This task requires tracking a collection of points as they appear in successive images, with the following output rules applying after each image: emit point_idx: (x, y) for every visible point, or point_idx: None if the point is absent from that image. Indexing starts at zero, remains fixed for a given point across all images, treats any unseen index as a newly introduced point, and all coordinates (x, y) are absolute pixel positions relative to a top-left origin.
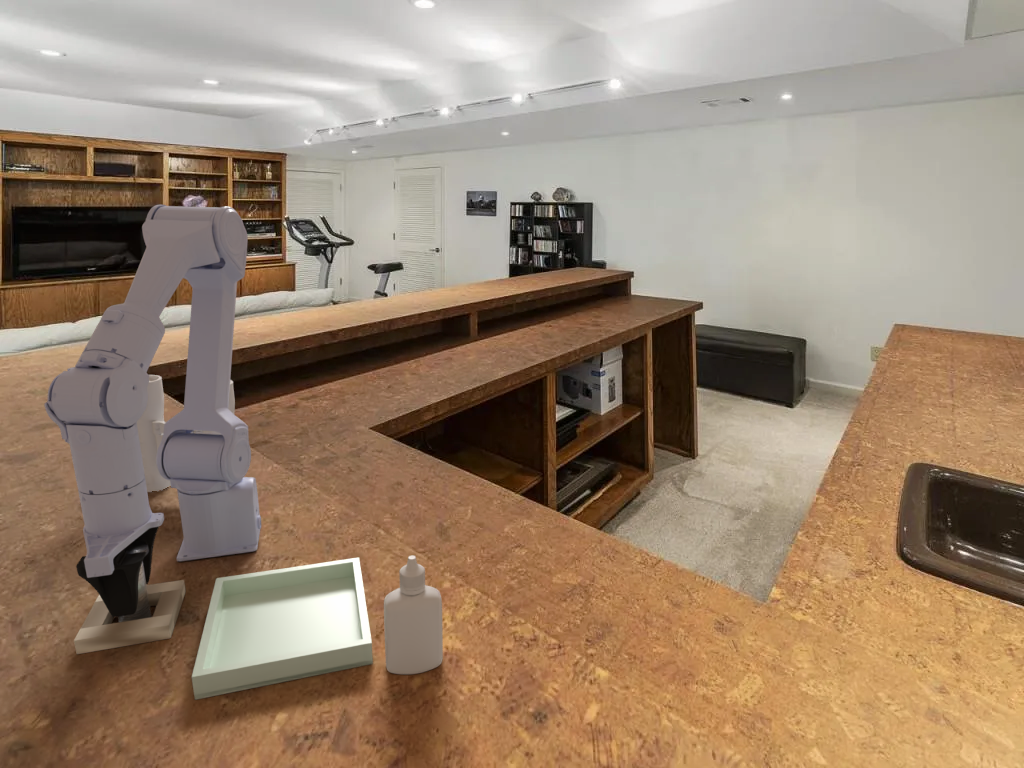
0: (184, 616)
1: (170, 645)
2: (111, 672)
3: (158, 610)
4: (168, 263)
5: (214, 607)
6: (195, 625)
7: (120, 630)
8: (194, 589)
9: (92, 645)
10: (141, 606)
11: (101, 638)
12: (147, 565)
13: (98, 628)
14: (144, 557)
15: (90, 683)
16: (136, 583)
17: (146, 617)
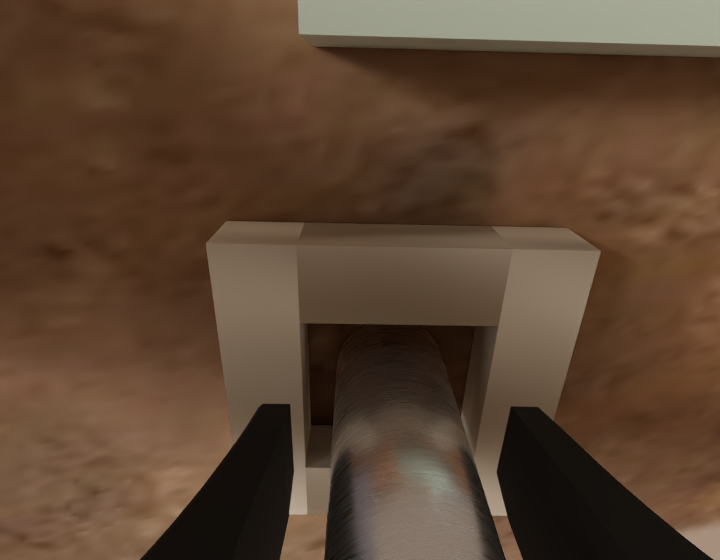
0: (427, 196)
1: (614, 220)
2: (658, 373)
3: (453, 311)
4: None
5: (676, 3)
6: (519, 137)
7: None
8: (212, 183)
9: None
10: (444, 386)
11: None
12: (266, 485)
13: (487, 473)
14: (246, 551)
15: (676, 411)
16: (685, 557)
17: (420, 339)
